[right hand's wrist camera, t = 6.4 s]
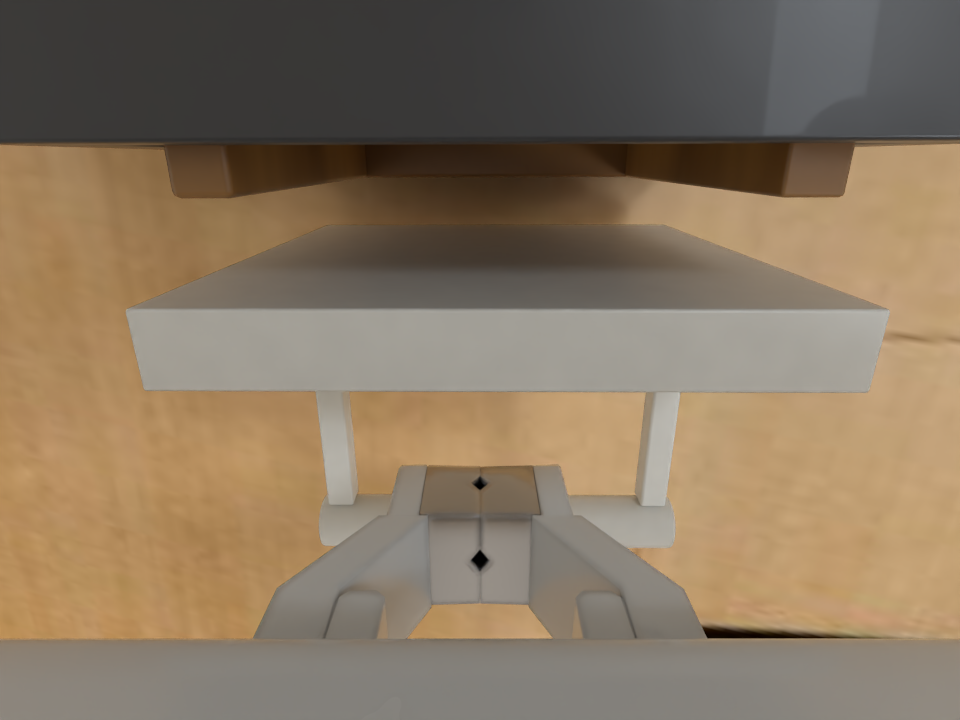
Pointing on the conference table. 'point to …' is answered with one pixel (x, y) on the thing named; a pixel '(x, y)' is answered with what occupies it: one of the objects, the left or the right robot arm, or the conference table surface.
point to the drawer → (507, 303)
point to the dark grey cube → (478, 72)
